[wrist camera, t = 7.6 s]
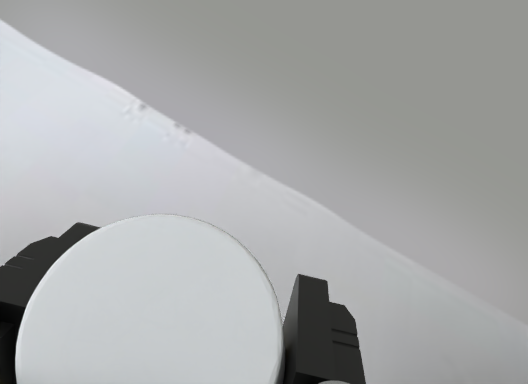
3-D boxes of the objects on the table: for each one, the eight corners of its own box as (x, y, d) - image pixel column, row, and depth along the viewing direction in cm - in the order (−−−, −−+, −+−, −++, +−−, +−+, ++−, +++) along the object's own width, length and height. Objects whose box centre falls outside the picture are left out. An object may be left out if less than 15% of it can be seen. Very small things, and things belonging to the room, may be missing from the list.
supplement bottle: (251, 472, 14) (294, 552, 6) (88, 453, 13) (-79, 509, 6) (268, 307, 16) (317, 211, 8) (127, 288, 15) (42, 172, 8)
